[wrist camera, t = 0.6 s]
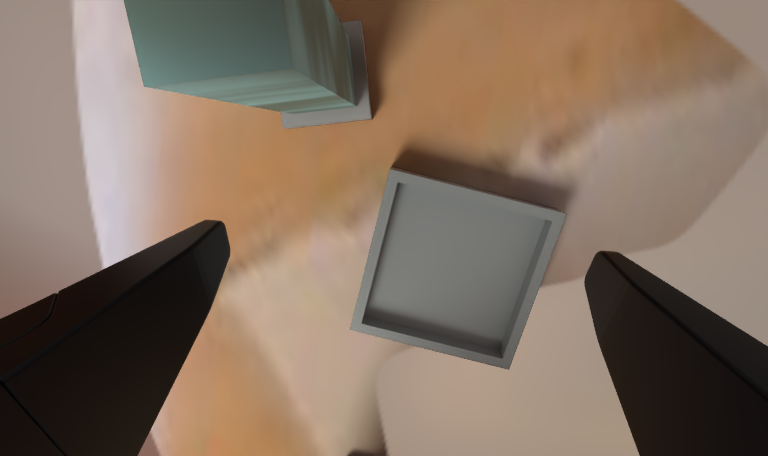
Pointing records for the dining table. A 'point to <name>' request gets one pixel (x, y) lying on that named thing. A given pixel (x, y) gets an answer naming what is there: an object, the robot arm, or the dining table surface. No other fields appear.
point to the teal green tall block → (256, 56)
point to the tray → (454, 268)
